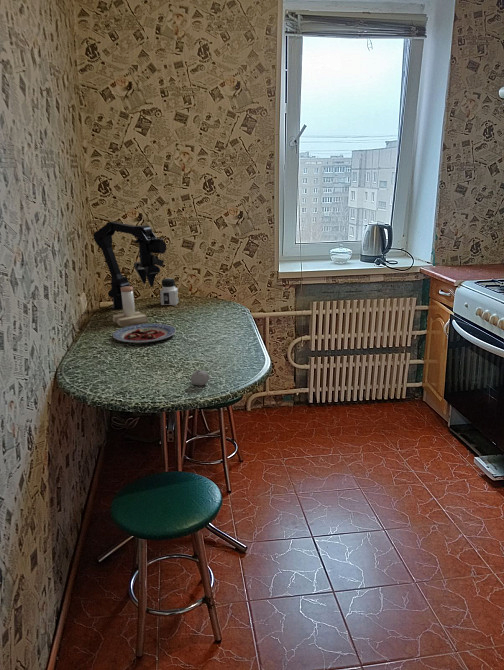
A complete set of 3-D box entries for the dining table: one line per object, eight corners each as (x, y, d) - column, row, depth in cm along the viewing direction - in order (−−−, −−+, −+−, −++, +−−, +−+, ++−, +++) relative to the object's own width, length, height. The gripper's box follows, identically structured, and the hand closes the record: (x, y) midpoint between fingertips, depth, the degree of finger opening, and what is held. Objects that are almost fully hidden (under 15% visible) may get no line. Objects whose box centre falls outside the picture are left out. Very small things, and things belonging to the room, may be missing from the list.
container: (176, 305, 274) (174, 280, 270) (161, 305, 274) (159, 280, 270) (178, 302, 281) (176, 277, 277) (163, 302, 281) (161, 277, 278)
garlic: (196, 389, 168) (195, 373, 167) (187, 384, 172) (187, 368, 171) (212, 384, 172) (212, 369, 170) (204, 379, 176) (203, 364, 174)
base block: (113, 321, 248) (112, 314, 247) (137, 317, 254) (137, 310, 253) (121, 326, 238) (121, 320, 237) (147, 322, 244) (146, 316, 243)
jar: (125, 313, 248) (122, 286, 244) (137, 313, 247) (134, 285, 244) (121, 316, 243) (118, 288, 239) (133, 316, 242) (130, 288, 238)
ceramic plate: (163, 348, 209) (163, 340, 208) (102, 345, 214) (101, 338, 213) (184, 329, 233) (184, 322, 232) (128, 327, 238) (128, 321, 237)
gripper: (169, 253, 252) (171, 286, 257) (153, 249, 267) (156, 280, 272) (146, 255, 246) (149, 289, 251) (132, 251, 262) (135, 282, 266)
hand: (148, 285), depth 260 cm, fingers open, 9 cm apart
